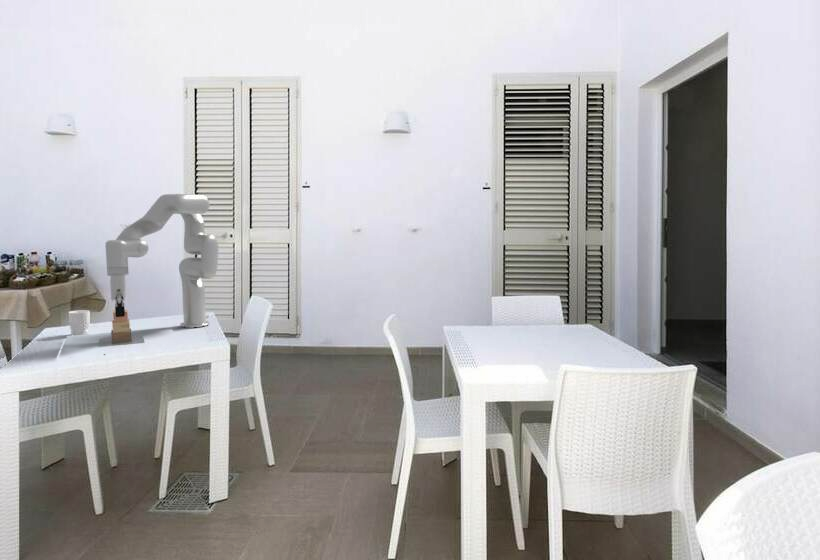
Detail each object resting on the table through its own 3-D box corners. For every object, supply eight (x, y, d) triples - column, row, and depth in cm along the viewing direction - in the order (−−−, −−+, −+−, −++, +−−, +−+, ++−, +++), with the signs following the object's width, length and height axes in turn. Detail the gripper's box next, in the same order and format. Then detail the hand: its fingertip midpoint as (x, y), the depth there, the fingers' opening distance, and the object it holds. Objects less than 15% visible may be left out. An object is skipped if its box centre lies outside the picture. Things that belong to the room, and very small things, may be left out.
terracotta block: (113, 320, 226) (112, 310, 226) (127, 319, 228) (126, 309, 228) (113, 322, 222) (113, 312, 221) (127, 321, 224) (127, 311, 224)
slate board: (99, 341, 230) (99, 338, 229) (143, 337, 237) (143, 334, 237) (98, 349, 215) (98, 346, 215) (144, 345, 223) (144, 342, 223)
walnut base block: (111, 339, 228) (111, 330, 227) (131, 338, 231) (130, 328, 230) (111, 343, 221) (111, 333, 221) (131, 341, 225) (131, 331, 224)
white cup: (66, 336, 238) (65, 313, 236) (74, 332, 245) (72, 310, 244) (87, 336, 239) (85, 312, 238) (93, 332, 247) (92, 309, 246)
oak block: (112, 330, 227) (112, 320, 226) (129, 328, 230) (128, 319, 229) (112, 333, 222) (112, 322, 221) (130, 331, 224) (129, 321, 224)
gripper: (107, 269, 229) (109, 312, 231) (106, 273, 213) (109, 319, 215) (128, 269, 232) (130, 310, 234) (128, 273, 217) (131, 317, 219)
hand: (120, 314), depth 225 cm, fingers open, 8 cm apart
